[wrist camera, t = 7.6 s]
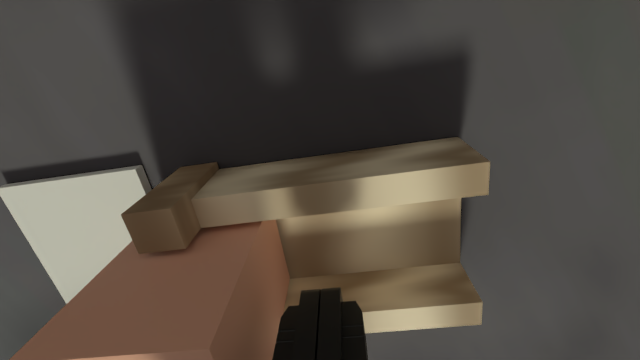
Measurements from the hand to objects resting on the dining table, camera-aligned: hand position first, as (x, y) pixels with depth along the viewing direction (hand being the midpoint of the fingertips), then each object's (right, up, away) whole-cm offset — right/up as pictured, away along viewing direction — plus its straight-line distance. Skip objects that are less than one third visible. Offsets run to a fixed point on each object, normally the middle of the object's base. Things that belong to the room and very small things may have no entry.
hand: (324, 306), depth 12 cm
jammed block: (-5, +2, +6) cm, 8 cm away
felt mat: (-13, +1, +7) cm, 14 cm away
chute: (0, +2, +5) cm, 6 cm away
